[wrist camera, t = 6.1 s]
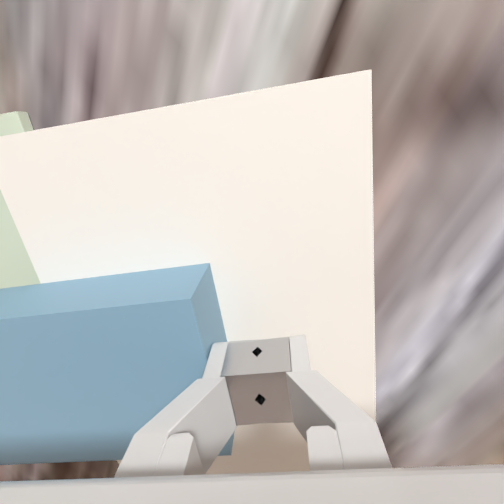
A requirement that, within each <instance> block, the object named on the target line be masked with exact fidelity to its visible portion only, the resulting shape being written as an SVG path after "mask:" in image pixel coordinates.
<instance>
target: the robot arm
mask: <svg viewBox="0 0 504 504" xmlns="http://www.w3.org/2000/svg"><path fill="white" fill-rule="evenodd" d="M262 423H294V425H295V426H296V428H297V429H298V431H299V432H300V434H301V435H302V436H303V438H304V439H305V441H306V442H307V444H308V455H309V466H310V471H290V472H262V473H233V474H206V472H207V471H208V469H209V468H210V466H211V465H212V463H213V462H214V460H215V459H216V457H217V456H218V454H219V453H220V451H221V450H222V449H223V447H224V446H225V444H226V443H227V441H228V440H229V438H230V437H231V435H232V434H233V432H234V431H235V429H236V428H237V426H238V425H250V424H262ZM0 504H504V464H493V465H465V466H437V467H409V468H392V465H391V463H390V460H389V457H388V454H387V451H386V449H385V446H384V443H383V440H382V437H381V435H380V432H379V429H378V426H377V423H376V421H374V420H373V419H372V418H371V417H370V416H369V415H367V414H366V413H365V412H364V411H363V410H362V409H361V408H359V407H358V406H357V405H356V404H355V403H354V402H352V401H351V400H350V399H349V398H348V397H347V396H345V395H344V394H343V393H342V392H341V391H340V390H339V389H337V388H336V387H335V386H334V385H333V384H332V383H330V382H329V381H328V380H327V379H326V378H325V377H323V376H322V375H321V374H320V373H319V372H318V371H317V370H311V366H310V360H309V354H308V347H307V341H306V336H305V335H296V336H289V337H282V338H272V339H261V340H259V339H258V340H243V341H229V342H217V343H214V344H213V345H212V347H211V351H210V354H209V357H208V360H207V364H206V367H205V370H204V373H203V377H202V378H201V379H197V380H196V381H194V382H193V383H192V384H191V385H190V386H189V387H188V388H186V389H185V390H184V391H183V392H182V393H181V394H180V395H178V396H177V397H176V398H175V399H174V400H173V401H172V402H170V403H169V404H168V405H167V406H166V407H165V408H164V409H162V410H161V411H160V412H159V413H158V414H157V415H156V416H155V417H153V418H152V419H151V420H150V421H149V422H148V423H147V424H145V425H144V426H143V427H142V428H141V429H140V430H139V431H137V432H136V433H135V434H134V436H133V438H132V440H131V442H130V444H129V447H128V449H127V451H126V453H125V455H124V457H123V459H122V461H121V463H120V465H119V467H118V469H117V472H116V474H115V476H114V478H90V479H62V480H33V481H4V482H0Z"/></svg>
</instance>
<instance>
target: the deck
mask: <svg viewBox="0 0 504 504" xmlns="http://www.w3.org/2000/svg"><path fill="white" fill-rule="evenodd" d="M0 190H1V192H2V195H3V197H4V199H5V202H6V204H7V206H8V209H9V211H10V213H11V216H12V218H13V220H14V223H15V225H16V227H17V230H18V232H19V234H20V237H21V239H22V241H23V244H24V246H25V248H26V250H27V253H28V255H29V257H30V260H31V262H32V264H33V267H34V269H35V271H36V274H37V276H38V278H39V281H40V283H41V284H42V283H50V282H58V281H67V280H75V279H83V278H91V277H99V276H107V275H115V274H123V273H132V272H140V271H148V270H156V269H164V268H172V267H180V266H189V265H197V264H205V263H210V267H211V271H212V275H213V280H214V284H215V289H216V293H217V298H218V302H219V307H220V311H221V316H222V320H223V325H224V329H225V333H226V338H227V342H229V341H243V340H258V339H259V340H261V339H272V338H282V337H289V336H296V335H305V336H306V341H307V347H308V354H309V360H310V366H311V370H317V371H318V372H319V373H320V374H321V375H322V376H323V377H325V378H326V379H327V380H328V381H329V382H330V383H332V384H333V385H334V386H335V387H336V388H337V389H339V390H340V391H341V392H342V393H343V394H344V395H345V396H347V397H348V398H349V399H350V400H351V401H352V402H354V403H355V404H356V405H357V406H358V407H359V408H361V409H362V410H363V411H364V412H365V413H366V414H367V415H369V416H370V417H371V418H372V419H373V420H374V421H376V381H375V307H374V232H373V158H372V84H371V70H365V71H360V72H354V73H349V74H343V75H338V76H332V77H326V78H321V79H315V80H310V81H304V82H299V83H293V84H288V85H282V86H277V87H271V88H266V89H260V90H254V91H249V92H243V93H238V94H232V95H227V96H221V97H216V98H210V99H205V100H199V101H194V102H188V103H183V104H177V105H171V106H166V107H160V108H155V109H149V110H144V111H138V112H133V113H127V114H122V115H116V116H111V117H105V118H99V119H94V120H88V121H83V122H77V123H72V124H66V125H61V126H55V127H50V128H44V129H39V130H33V131H27V132H22V133H16V134H11V135H5V136H0ZM121 461H122V460H117V462H118V464H119V465H120V463H121ZM290 471H310V466H309V455H308V444H307V442H306V441H305V439H304V438H303V436H302V435H301V434H300V432H299V431H298V429H297V428H296V426H295V425H294V423H262V424H250V425H238V426H237V428H236V429H235V432H234V439H233V446H232V454H231V455H226V456H217V457H216V459H215V460H214V462H213V463H212V465H211V466H210V468H209V469H208V471H207V472H206V474H233V473H262V472H290Z"/></svg>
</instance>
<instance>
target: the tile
mask: <svg viewBox="0 0 504 504" xmlns="http://www.w3.org/2000/svg"><path fill="white" fill-rule="evenodd" d="M217 342H227V338H226V333H225V329H224V325H223V320H222V316H221V311H220V307H219V302H218V298H217V293H216V289H215V284H214V280H213V275H212V271H211V267H210V263H205V264H197V265H189V266H180V267H172V268H164V269H156V270H148V271H140V272H132V273H123V274H115V275H107V276H99V277H91V278H83V279H75V280H67V281H58V282H50V283H42V284H34V285H26V286H18V287H10V288H2V289H0V465H12V464H35V463H59V462H83V461H107V460H122V459H123V457H124V455H125V453H126V451H127V449H128V447H129V444H130V442H131V440H132V438H133V436H134V434H135V433H136V432H137V431H139V430H140V429H141V428H142V427H143V426H144V425H145V424H147V423H148V422H149V421H150V420H151V419H152V418H153V417H155V416H156V415H157V414H158V413H159V412H160V411H161V410H162V409H164V408H165V407H166V406H167V405H168V404H169V403H170V402H172V401H173V400H174V399H175V398H176V397H177V396H178V395H180V394H181V393H182V392H183V391H184V390H185V389H186V388H188V387H189V386H190V385H191V384H192V383H193V382H194V381H196V380H197V379H201V378H202V377H203V373H204V370H205V367H206V364H207V360H208V357H209V354H210V351H211V347H212V345H213V344H214V343H217ZM234 432H235V431H234ZM234 432H233V434H232V435H231V437H230V438H229V440H228V441H227V443H226V444H225V446H224V447H223V449H222V450H221V451H220V453H219V454H218V456H226V455H231V454H232V446H233V439H234Z"/></svg>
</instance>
